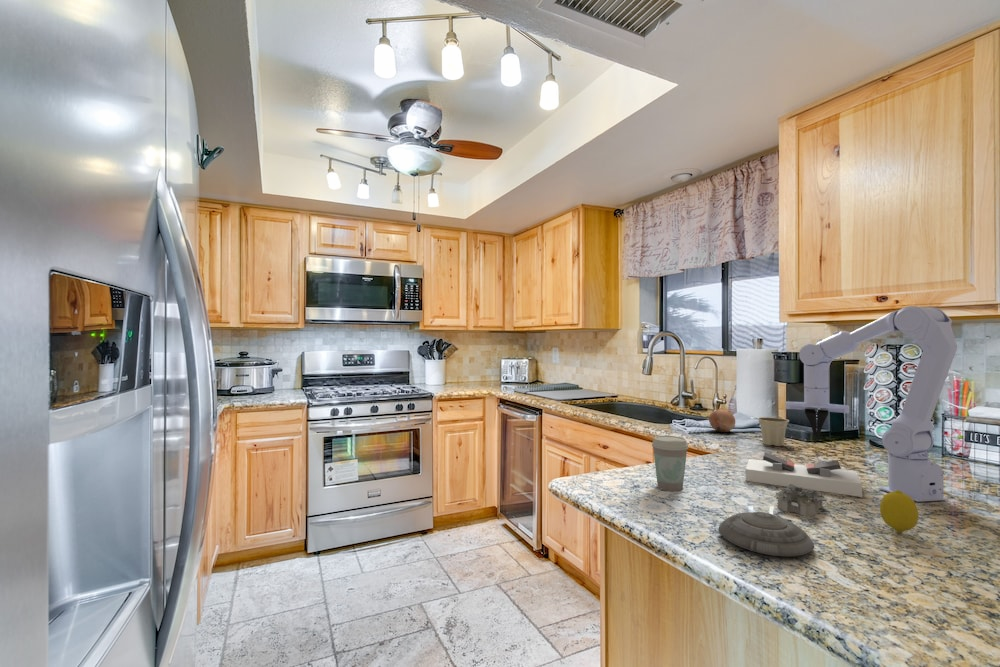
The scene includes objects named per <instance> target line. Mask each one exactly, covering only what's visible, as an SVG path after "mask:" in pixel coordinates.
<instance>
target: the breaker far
mask: <svg viewBox="0 0 1000 667" xmlns="http://www.w3.org/2000/svg"><path fill="white" fill-rule="evenodd" d="M781 458H782V457H778V456H776V455H773V454H771V453H768V452H766V451H765V452H764V453H763V457H762V460H763V461H767V462H770V463H782V467H783V468H785V469H788V470H790V471H793V470H794V464H795V463H794V462H792V461H789V460H787V459H783V458H782V459H781Z"/></svg>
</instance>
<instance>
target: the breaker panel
mask: <svg viewBox="0 0 1000 667" xmlns="http://www.w3.org/2000/svg"><path fill="white" fill-rule="evenodd" d="M780 458H781V459H783V457H780ZM817 462H818V461H817ZM818 463H821V462H818ZM745 481H746V482H750V483H751V482H753V483H758V484H760V483H761V484H766V485H767V484H768V485H774V486H780V487H786V488H787V487H788V486H789V485H790V484H792V485H794V486H796V487H799V488H801V487H802V488H804V489H809V490H810V491H813V490H814V491H815V492H816V491H817V492H822V493H823V492H824V493H830V494H840V495H845V496H852V497H853V496H854V497H860V498H863V483H862V481H861V479H860V476H859V474H858V473H857V471H856V470H855V471H854V470H849V469H846V470H839V469H836V470H830V469H824V468H820V472H815V473H808V471H807V467H806V465H805V464H804V465H803V464H795V463H794V470H793V471H790V470H788V469H785V468H783V467H782V463H770V462H767V461H765V460H763V459H762V460H761V459H754V458H749V459H748V461H747V465H746V467H745Z"/></svg>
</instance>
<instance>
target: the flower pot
mask: <svg viewBox="0 0 1000 667" xmlns="http://www.w3.org/2000/svg"><path fill="white" fill-rule="evenodd" d="M757 420H758V423H759V426H760V430H761V431H760V432H761V439H762V442H763V443H762V444H764V445H767V446H776V447H782V446H784V444H785V437H786V430H787V427H788V424H789V423H790V420H789V419H785V418H781V417H780V418H779V417H769V416H768V417H767V416H763V417H758V418H757Z"/></svg>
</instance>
